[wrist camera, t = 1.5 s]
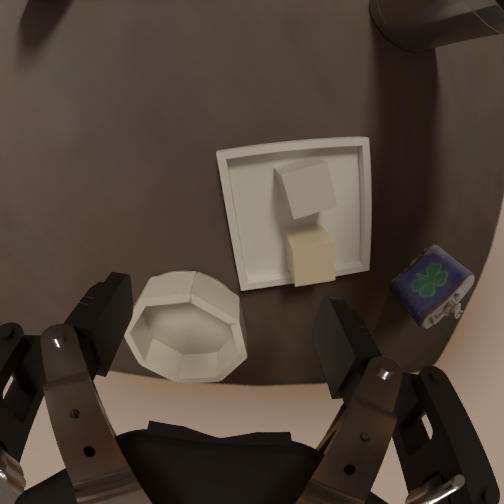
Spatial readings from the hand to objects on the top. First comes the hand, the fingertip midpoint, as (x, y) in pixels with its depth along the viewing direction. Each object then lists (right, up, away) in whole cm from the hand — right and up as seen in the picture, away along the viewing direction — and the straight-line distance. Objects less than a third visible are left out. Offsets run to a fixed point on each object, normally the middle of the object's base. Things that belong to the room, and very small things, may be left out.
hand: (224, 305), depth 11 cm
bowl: (-7, -6, +24) cm, 25 cm away
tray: (+6, +7, +18) cm, 20 cm away
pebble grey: (+6, +9, +16) cm, 19 cm away
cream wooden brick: (+7, +3, +19) cm, 20 cm away
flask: (+23, 0, +22) cm, 32 cm away
